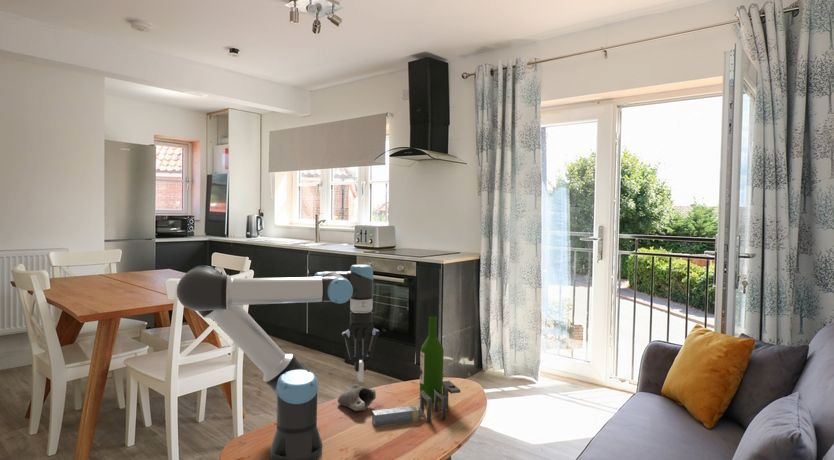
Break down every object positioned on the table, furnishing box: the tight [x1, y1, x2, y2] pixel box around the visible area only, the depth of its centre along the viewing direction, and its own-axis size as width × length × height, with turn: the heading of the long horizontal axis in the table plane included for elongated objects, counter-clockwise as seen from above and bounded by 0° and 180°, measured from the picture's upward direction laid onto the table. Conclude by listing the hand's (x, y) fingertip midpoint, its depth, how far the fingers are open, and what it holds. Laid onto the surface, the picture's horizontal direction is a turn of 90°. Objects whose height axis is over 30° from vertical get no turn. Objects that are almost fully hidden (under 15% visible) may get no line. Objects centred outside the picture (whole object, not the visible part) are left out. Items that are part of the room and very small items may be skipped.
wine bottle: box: [419, 315, 444, 405], centre depth 188 cm, size 9×9×32 cm
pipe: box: [337, 383, 377, 412], centre depth 180 cm, size 16×9×15 cm
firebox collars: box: [419, 380, 461, 424], centre depth 175 cm, size 12×10×10 cm
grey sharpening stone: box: [371, 405, 424, 428], centre depth 168 cm, size 18×4×4 cm, turn 110°
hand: (360, 380), depth 163 cm, fingers closed
